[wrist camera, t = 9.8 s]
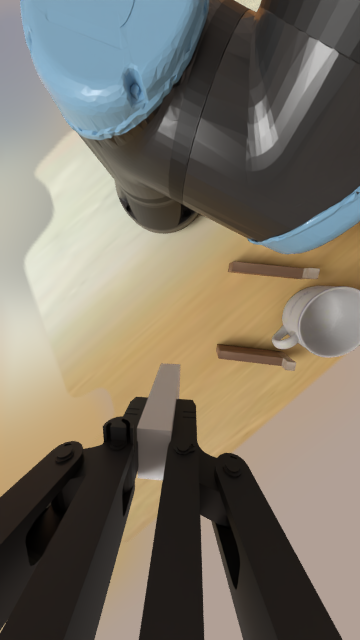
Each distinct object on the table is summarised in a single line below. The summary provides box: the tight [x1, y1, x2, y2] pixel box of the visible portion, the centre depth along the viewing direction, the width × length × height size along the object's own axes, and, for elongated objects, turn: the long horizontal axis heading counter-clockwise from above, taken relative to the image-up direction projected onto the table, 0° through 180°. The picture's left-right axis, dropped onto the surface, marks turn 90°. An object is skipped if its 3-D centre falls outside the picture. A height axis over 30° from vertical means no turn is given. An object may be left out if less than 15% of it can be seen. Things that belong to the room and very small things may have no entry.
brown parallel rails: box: [216, 262, 320, 371], centre depth 33 cm, size 17×13×5 cm
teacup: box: [272, 286, 360, 357], centre depth 31 cm, size 14×11×8 cm
